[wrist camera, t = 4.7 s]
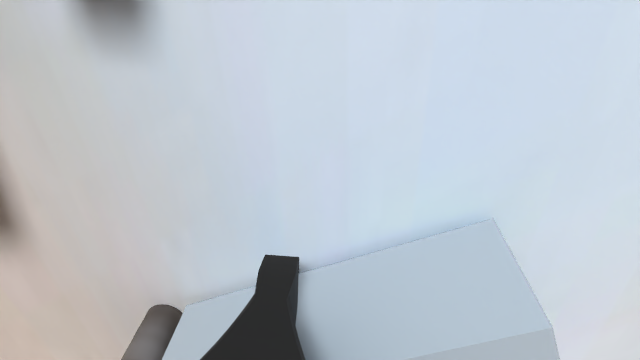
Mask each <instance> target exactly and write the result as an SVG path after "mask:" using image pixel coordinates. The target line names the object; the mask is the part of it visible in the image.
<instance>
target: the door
mask: <svg viewBox="0 0 640 360" xmlns="http://www.w3.org/2000/svg"><path fill="white" fill-rule="evenodd" d="M255 289H256V286H253V287H250V288H246V289H243V290H239V291H236V292H232V293H229V294H225V295H222V296H218V297H215V298H211V299H208V300H204V301H201V302H197V303H194V304H190V305H187V306H186V308H185V310H184V312H183V314H182V316H181V319H180V321H179V323H178V325H177V327H176V330H175V332H174V334H173V336H172V338H171V340H170V343H169V345H168V347H167V349H166V351H165V354H164V356H163V358H162V360H200V359H201V358H202V357H203V356H204V355H205V354H206V353H207V352H208V351H209V350H210V348H211V347H212V346H213V345H214V344H215V343H216V342H217V341H218V340H219V339H220V337H221V336H222V335H223V334H224V333H225V332H226V331H227V329H228V328H229V327H230V326H231V324H232V323H233V322H234V321H235V319H236V318H237V317H238V316H239V314H240V313H241V312H242V310H243V309H244V308H245V306H246V305H247V304H248V302H249V301H250V299H251V298H252V296H253V295H254V294H255ZM295 326H296V330H297V333H298V337H299V341H300V344H301V347H302V350H303V354H304V356H305V359H306V360H560V358H559V353H558V349H557V344H556V340H555V335H554V331H553V327H552V325H551V323H550V321H549V320H548V318H547V316H546V314H545V312H544V310H543V308H542V307H541V305H540V303H539V301H538V299H537V297H536V296H535V294H534V292H533V290H532V288H531V286H530V285H529V283H528V281H527V279H526V277H525V275H524V274H523V272H522V270H521V268H520V266H519V264H518V263H517V261H516V259H515V257H514V255H513V253H512V251H511V250H510V248H509V246H508V244H507V242H506V240H505V239H504V237H503V235H502V233H501V231H500V229H499V228H498V226H497V224H496V222H495V220H494V218H492V219H489V220H485V221H482V222H478V223H475V224H471V225H468V226H464V227H461V228H457V229H454V230H450V231H447V232H443V233H440V234H436V235H433V236H429V237H426V238H422V239H419V240H415V241H412V242H408V243H405V244H401V245H398V246H394V247H390V248H387V249H383V250H380V251H376V252H373V253H369V254H366V255H362V256H359V257H355V258H352V259H348V260H345V261H341V262H338V263H334V264H331V265H327V266H324V267H320V268H317V269H313V270H310V271H306V272H303V273H299V277H298V307H297V316H296V325H295Z"/></svg>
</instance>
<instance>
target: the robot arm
mask: <svg viewBox="0 0 640 360" xmlns="http://www.w3.org/2000/svg"><path fill="white" fill-rule="evenodd" d="M298 277H299V257H289V256H276V255H265V257H264V259H263V261H262V264H261V266H260V269H259V272H258V277H257V283H256V289H255V294H254V295H253V296H252V298H251V299H250V301H249V302H248V304H247V305H246V306H245V308H244V309H243V310H242V312H241V313H240V314H239V316H238V317H237V318H236V319H235V321H234V322H233V323H232V324H231V326H230V327H229V328H228V329H227V331H226V332H225V333H224V334H223V335H222V336H221V337H220V339H219V340H218V341H217V342H216V343H215V344H214V345H213V346H212V347H211V348H210V350H209V351H208V352H207V353H206V354H205V355H204V356H203V357H202V358H201V359H200V360H306V359H305V356H304V354H303V350H302V347H301V344H300V341H299V337H298V333H297V330H296V326H295V325H296V316H297V307H298Z"/></svg>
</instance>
